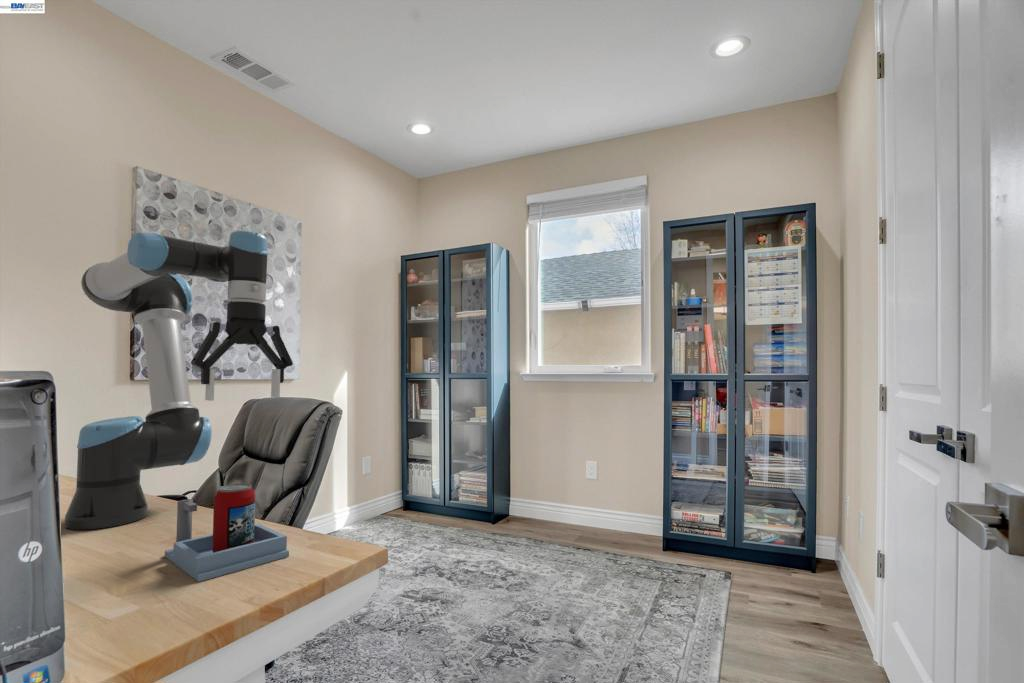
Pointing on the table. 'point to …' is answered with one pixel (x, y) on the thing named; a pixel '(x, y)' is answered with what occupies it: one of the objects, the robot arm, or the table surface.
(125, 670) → the table surface
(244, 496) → the beverage can
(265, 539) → the light blue hollow tray
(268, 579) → the table surface
